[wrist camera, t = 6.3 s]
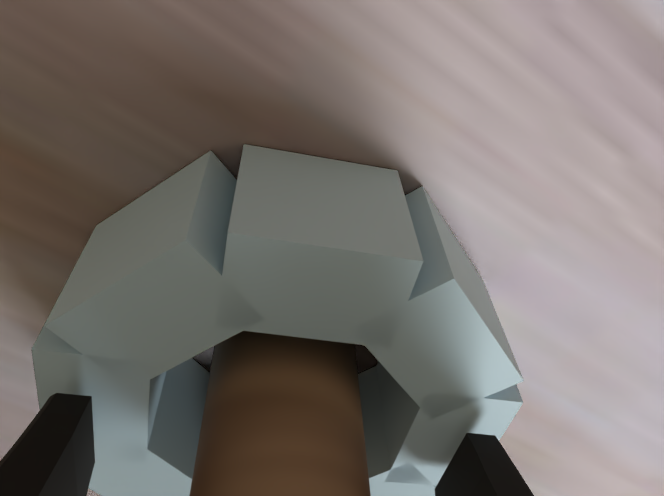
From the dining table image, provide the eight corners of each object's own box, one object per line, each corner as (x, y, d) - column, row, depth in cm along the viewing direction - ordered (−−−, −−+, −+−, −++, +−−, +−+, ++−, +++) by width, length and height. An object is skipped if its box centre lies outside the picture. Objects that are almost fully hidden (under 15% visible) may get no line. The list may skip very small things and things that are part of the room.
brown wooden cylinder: (339, 370, 15) (362, 697, 9) (216, 360, 14) (162, 697, 9) (363, 277, 13) (411, 615, 7) (223, 262, 13) (161, 608, 7)
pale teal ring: (410, 451, 17) (428, 552, 15) (93, 422, 16) (55, 530, 13) (536, 194, 12) (595, 286, 10) (78, 115, 10) (11, 200, 8)
